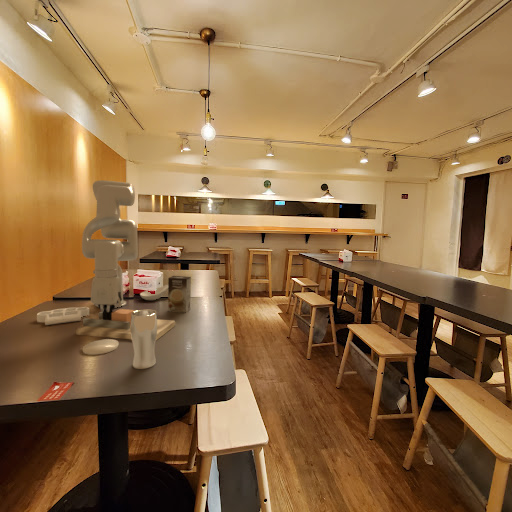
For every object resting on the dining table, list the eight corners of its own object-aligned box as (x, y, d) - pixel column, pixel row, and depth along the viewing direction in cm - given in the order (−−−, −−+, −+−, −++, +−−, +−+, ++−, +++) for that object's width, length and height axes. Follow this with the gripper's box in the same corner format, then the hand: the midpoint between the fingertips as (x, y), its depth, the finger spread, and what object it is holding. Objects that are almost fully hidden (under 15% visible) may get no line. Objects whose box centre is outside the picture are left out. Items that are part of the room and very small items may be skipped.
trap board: (76, 334, 97) (75, 322, 96) (106, 320, 113) (106, 309, 112) (154, 341, 93) (154, 328, 92) (175, 325, 108) (175, 314, 108)
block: (111, 325, 101) (111, 312, 100) (120, 321, 106) (120, 309, 105) (126, 327, 100) (126, 313, 99) (134, 322, 105) (134, 310, 104)
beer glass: (136, 358, 80) (135, 309, 79) (160, 358, 81) (160, 309, 80) (127, 370, 73) (126, 316, 72) (153, 370, 74) (153, 316, 73)
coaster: (74, 353, 82) (74, 350, 82) (98, 340, 92) (98, 338, 92) (104, 356, 81) (104, 353, 81) (125, 342, 91) (125, 340, 91)
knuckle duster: (34, 328, 102) (38, 318, 114) (90, 321, 112) (88, 311, 124) (34, 320, 102) (38, 310, 114) (90, 313, 112) (88, 304, 124)
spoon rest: (144, 303, 140) (144, 289, 139) (137, 298, 149) (137, 285, 148) (186, 297, 155) (186, 285, 154) (178, 293, 164) (178, 281, 163)
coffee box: (167, 311, 126) (167, 277, 125) (172, 307, 133) (172, 275, 131) (186, 312, 125) (186, 278, 124) (191, 308, 132) (191, 276, 130)
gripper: (81, 274, 99) (82, 323, 101) (118, 276, 97) (119, 326, 99) (96, 271, 107) (97, 316, 108) (131, 273, 104) (131, 319, 106)
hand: (107, 321), depth 103 cm, fingers closed
